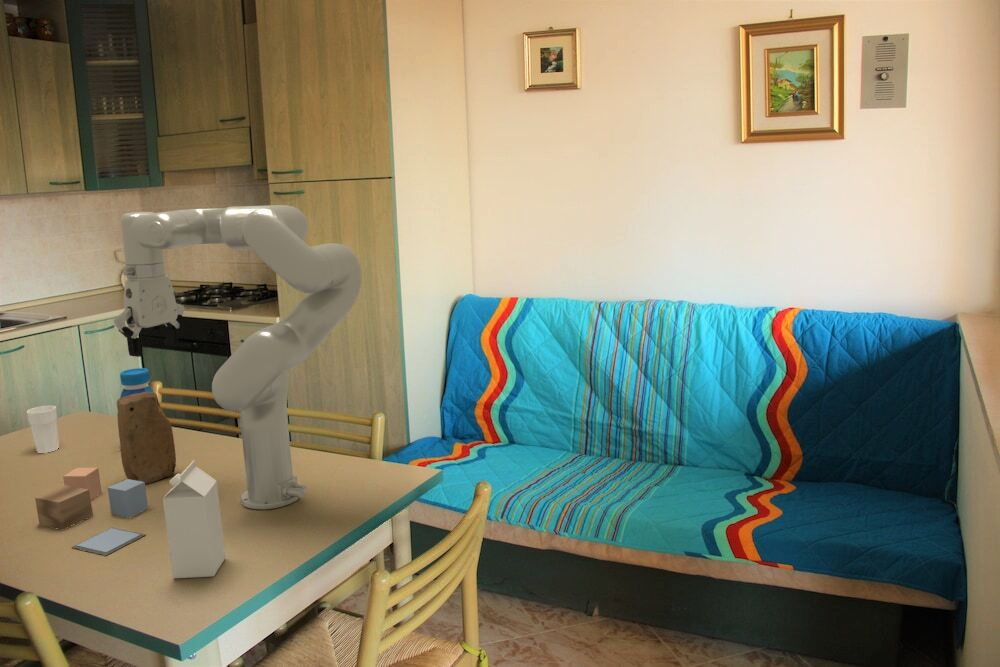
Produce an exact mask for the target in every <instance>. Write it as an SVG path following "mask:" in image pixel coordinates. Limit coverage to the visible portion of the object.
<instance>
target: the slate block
mask: <svg viewBox="0 0 1000 667" xmlns="http://www.w3.org/2000/svg"><path fill="white" fill-rule="evenodd" d="M107 492H108V500H109V507H110V512H111V514H113V515H112V516H116V515H118V516H117V517H121V516H123V518H126V517H128V518H127V519H130V518H132V517H134V516H136V515H139V514H140V513H142V512H144V511H143V510H145V509H147V508H148V509H149V505H148V498H147V497H148V496H147V489H146V484H145V482H142V481H136V480H130V479H127V478H126V479H124V480H122V481H119V482H118V483H114V484H113V485H110V486H108V487H107ZM148 509H147V510H148ZM141 511H142V512H141ZM145 511H146V510H145ZM131 516H132V517H131ZM129 517H130V518H129Z"/></svg>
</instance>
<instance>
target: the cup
mask: <svg viewBox="0 0 1000 667" xmlns="http://www.w3.org/2000/svg"><path fill="white" fill-rule="evenodd" d="M26 415H27V419H28V424H29V425H30V427H31V432H32V433H31V434H32V437H33V441H34V446H35V450H36V451H37V452H38V453H47V452H51V451H55V450H57V449H58V448H59V449H60V445H59V436H58V435H59V432H58V424H57V423H58V422H57V420H58V416H57V415H58V414H57V406H56V405H42V406H36V407H33V408H29V409H28V410H26ZM59 449H58V450H59ZM58 450H57V451H58ZM37 452H36V453H37ZM55 452H56V451H55ZM38 453H37V454H38ZM51 453H52V452H51ZM47 454H48V453H47Z"/></svg>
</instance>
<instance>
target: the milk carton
mask: <svg viewBox="0 0 1000 667" xmlns="http://www.w3.org/2000/svg"><path fill="white" fill-rule="evenodd" d="M168 483H169V484H170V485H171V486H173V487H171V489H170V490H169V491H168V492H167V493H166V494H165V495H164V497H163V498H162V503H163V504H162V505H163V511H164V512H163V514H164V520H165V528H166V535H167V542H168V551H169V557H170V568H171V573H172V579H189V578H190V579H191V578H192V579H193V578H208V577H212V578H213V577H215V575H216V574H217V572H218V571H219V569H220V568H221V566H222V564H223V562H224V561H225V559H226V550H225V545H224V543H225V541H224V536H223V526H222V515H221V510H220V508H221V507H220V500H219V491H218V490H219V489H218V482H217V480H216V479H215V478H214V477H212V476H210V475H209V474H208V473H206V472H205V471H203V470H202V469H201V468H199V467H197V466H196V461H195V459H194V460H192V461H191V463H190V464H189V465H188V466H187V467H186V468H185V469H184V470H183V471H182V472H181V473H176V474H175V475H174V476H173V477H172V478H171V479H170V480H169V482H168Z"/></svg>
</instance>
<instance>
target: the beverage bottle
mask: <svg viewBox="0 0 1000 667" xmlns="http://www.w3.org/2000/svg"><path fill="white" fill-rule="evenodd" d="M119 377H120V383H121V386H122V387H124V388H123V389H122V391H121V393H120V397H119V398H121V397H124V396H128V395H132V394H138V393H142V392H146V391H147V392H153V393H155V391H154V389H153V388H152V386H150V385H149V383H150V381H151V379H150V372H149V369H148V368H145V367H137V368H130V369H129V368H128V369H125V370H123V371H121V372H120V373H119Z"/></svg>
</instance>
